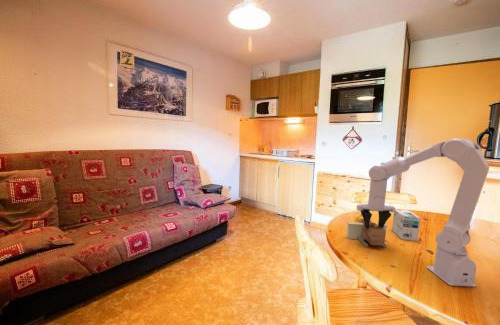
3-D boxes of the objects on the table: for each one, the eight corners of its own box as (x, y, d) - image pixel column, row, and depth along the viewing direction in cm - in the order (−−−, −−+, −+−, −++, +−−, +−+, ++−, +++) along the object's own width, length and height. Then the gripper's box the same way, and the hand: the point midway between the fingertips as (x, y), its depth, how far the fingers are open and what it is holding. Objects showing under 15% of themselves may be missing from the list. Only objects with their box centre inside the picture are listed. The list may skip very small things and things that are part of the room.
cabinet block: (384, 245, 88) (386, 228, 88) (371, 244, 88) (373, 227, 88) (373, 236, 96) (375, 220, 95) (361, 235, 96) (363, 220, 95)
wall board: (396, 248, 90) (398, 232, 89) (355, 246, 90) (356, 230, 89) (383, 238, 99) (384, 223, 98) (345, 236, 99) (347, 222, 98)
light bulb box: (418, 241, 97) (421, 217, 96) (400, 239, 98) (404, 215, 97) (406, 231, 107) (409, 209, 106) (390, 229, 109) (393, 208, 107)
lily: (364, 230, 109) (376, 214, 108) (344, 214, 117) (355, 199, 115) (370, 231, 118) (382, 216, 116) (351, 216, 126) (362, 202, 124)
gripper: (389, 193, 94) (385, 224, 96) (354, 192, 94) (351, 223, 96) (400, 198, 87) (396, 231, 89) (362, 196, 87) (359, 230, 89)
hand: (373, 227), depth 92 cm, fingers closed on cabinet block, 5 cm apart
